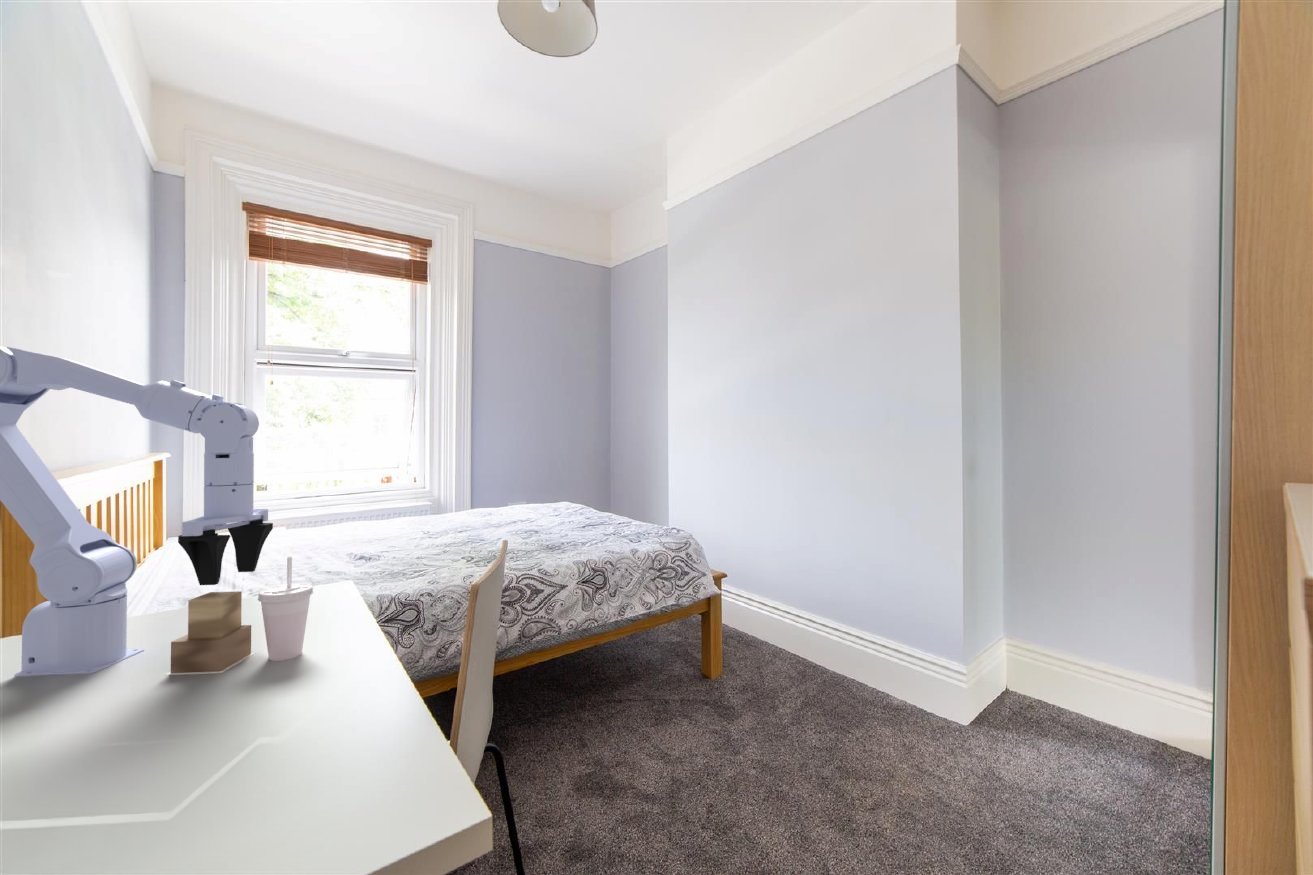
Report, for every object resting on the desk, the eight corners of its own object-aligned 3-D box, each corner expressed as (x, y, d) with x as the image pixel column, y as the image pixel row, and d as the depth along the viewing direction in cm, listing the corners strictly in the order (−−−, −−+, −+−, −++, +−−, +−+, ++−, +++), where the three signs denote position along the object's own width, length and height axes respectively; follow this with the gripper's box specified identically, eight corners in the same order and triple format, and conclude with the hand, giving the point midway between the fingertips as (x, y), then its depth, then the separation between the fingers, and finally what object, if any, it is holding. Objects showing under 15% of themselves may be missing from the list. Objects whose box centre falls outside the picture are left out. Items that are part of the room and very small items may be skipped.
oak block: (220, 637, 71) (221, 599, 71) (187, 638, 71) (188, 600, 71) (241, 627, 75) (241, 591, 75) (210, 628, 74) (210, 592, 75)
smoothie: (323, 650, 78) (324, 553, 78) (289, 668, 72) (289, 563, 72) (282, 649, 79) (283, 552, 79) (244, 666, 72) (245, 562, 73)
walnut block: (170, 673, 69) (170, 641, 69) (205, 655, 75) (205, 626, 75) (220, 671, 70) (220, 640, 70) (251, 653, 76) (251, 624, 76)
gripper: (221, 488, 72) (220, 590, 72) (288, 481, 87) (287, 565, 86) (165, 488, 72) (164, 591, 71) (242, 481, 86) (241, 566, 86)
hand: (228, 577), depth 79 cm, fingers open, 7 cm apart
